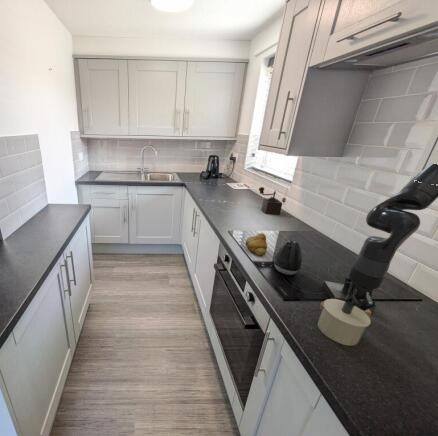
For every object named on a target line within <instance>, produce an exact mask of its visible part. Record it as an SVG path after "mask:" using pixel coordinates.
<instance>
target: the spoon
mask: <svg viewBox="0 0 438 436" xmlns="http://www.w3.org/2000/svg"><path fill="white" fill-rule="evenodd" d="M323 303H324V301H321V302H320V305H319V309H320V310H321V311H322V309H323V307H324V306H323ZM362 311H363V310H362ZM363 312H365V313H366V314H367V315H368V317H369V318H370V317H371V316H372V314H373V312H371V311H370V310H369V309H367V310H365V311H363ZM370 319H371V318H370Z"/></svg>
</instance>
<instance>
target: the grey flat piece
mask: <svg viewBox="0 0 438 436" xmlns="http://www.w3.org/2000/svg"><path fill="white" fill-rule="evenodd" d="M343 286H344V283H339V282H332V281H328V280H324V281H323V284H322V286H321V288H322V287H323V288H322V290H323V291H324V290H325V291H324V292H325V294H326V293H327V294H326V295H327V297H328V296H329V297H328V299H329V298H330V299H338V300H342V301H346V300H347V299H346V295H345V294H344V292H343V291H342V288H343ZM371 301H373V300H372V299H371ZM358 303H359V302H356V304H358ZM376 307H377V304H376V303H375V306H373V307H371V308H369V310H370V311H371V312H372V313H373V312H374V311H375V309H376Z"/></svg>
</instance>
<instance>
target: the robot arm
mask: <svg viewBox="0 0 438 436" xmlns="http://www.w3.org/2000/svg"><path fill="white" fill-rule="evenodd" d="M430 164H431V163H430ZM430 164H429V165H428V167H427V166H426V167H425V168H423V169H422V170H421V171H419V172H418V173H417V174H416V175H414V177H413V178H411V179H410V180H409V181H408V182H407V183H406V184H405V185H404V186H403V188H402V189H401V190H400V191H399V192H397V193H395V194H394V195H392V196H390V197H389V198H387V199H386V200H384V201H382V202H380V203H378V204H376V205H375V206H374V207H373V208H372V209H370V210H369V212H367V214H366V217H365V222H366V225H368V227H371V228H373V229H376V230H379V231H380V232H384V233H387V234H390V235H389V236H388V237H383V236H376V235H372V236H371V235H370V236H367V238H365V240H364V241H363V245H362V246H361V249H360V251H359V254H358V255H357V256H356V258H355V260H354V262H353V265H352V267H351V269H350V271H349V274H348V277H345V279H344V283H345V289H344V294H345V295H346V299H347V300H346V301H349V302H351V303H353V304H354V306H356V307H358V308H359V309H361V310H363V311H365V310H367V309H369V308H371V307H373V306H375V304H376V301H373V300H372V298H371V297H372V296H373V291H374V290H376V289H378V288H380V287H381V285H382V283H383V281H384V279H385V277H386V275H387V273H388V271H389V269H390V265H391V262H392V260H393V259H394V256H395V254H396V253H397V251H398V250H399V248H400V247H401V246H402V245H403V244H404V243H405V242H406V241H407V240H408V239H409V238H410V237H411V236H413V234H415V233H416V232H417V231H418V229H419V228H420V226H421V218H420V217H419V215H417V214H416V213H413V212H410V211H423V210H426V209H427V208H428V207H430V206H432V204H433V203H434V202H435V201H436V200H437V199H438V186H436V184H438V165H437V164H431V165H430ZM414 180H417V181H415V182H414ZM418 181H419V182H422V183H418ZM431 184H434V185H431ZM406 210H407V211H406ZM348 288H349V289H348ZM371 300H372V301H371ZM356 302H359V303H358V304H356Z"/></svg>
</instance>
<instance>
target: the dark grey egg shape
mask: <svg viewBox="0 0 438 436" xmlns="http://www.w3.org/2000/svg"><path fill="white" fill-rule="evenodd" d="M302 262H303V252H302V246H301V245H300V243H299V241H297V240H295V239H288V240H286V241H285V242H284V243H282V245H281V246H280V247H279V249H278V250H277V252H276V254H275V256H274V258H273V263H274V268H275V270H277V271H278V273H281V274H283V275H288V276H292V275H295V274H297V273H298V272H299V271H300V270H301V269H302Z"/></svg>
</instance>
